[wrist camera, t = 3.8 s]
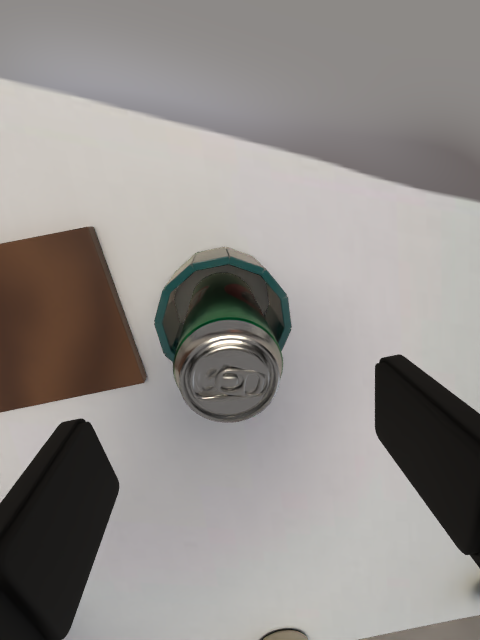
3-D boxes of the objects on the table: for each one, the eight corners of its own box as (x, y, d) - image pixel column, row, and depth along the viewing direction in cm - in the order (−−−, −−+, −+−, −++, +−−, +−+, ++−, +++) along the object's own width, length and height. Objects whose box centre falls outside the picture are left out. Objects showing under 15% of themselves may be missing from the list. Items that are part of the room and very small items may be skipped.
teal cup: (184, 356, 24) (176, 394, 19) (156, 260, 21) (137, 273, 16) (279, 337, 24) (296, 369, 19) (265, 238, 21) (281, 245, 16)
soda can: (194, 267, 22) (173, 320, 10) (257, 275, 22) (300, 333, 11) (188, 326, 23) (165, 427, 12) (247, 332, 24) (276, 433, 13)
